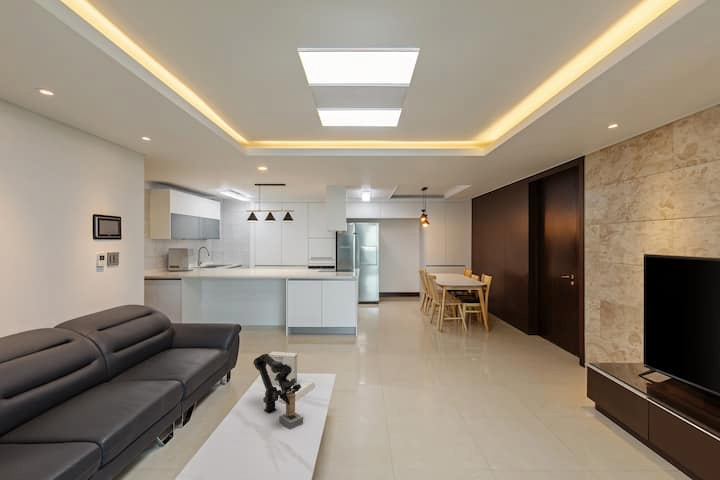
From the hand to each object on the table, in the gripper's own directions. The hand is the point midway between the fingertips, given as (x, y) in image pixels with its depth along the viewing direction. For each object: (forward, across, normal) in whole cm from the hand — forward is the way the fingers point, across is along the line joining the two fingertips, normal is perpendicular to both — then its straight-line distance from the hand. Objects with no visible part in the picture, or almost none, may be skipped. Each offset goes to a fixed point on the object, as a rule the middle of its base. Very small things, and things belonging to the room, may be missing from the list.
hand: (291, 403), depth 222 cm
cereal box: (-33, +30, +53) cm, 70 cm away
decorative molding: (-15, +28, +36) cm, 48 cm away
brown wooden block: (+4, 0, +6) cm, 7 cm away
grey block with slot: (+8, +1, +11) cm, 14 cm away
